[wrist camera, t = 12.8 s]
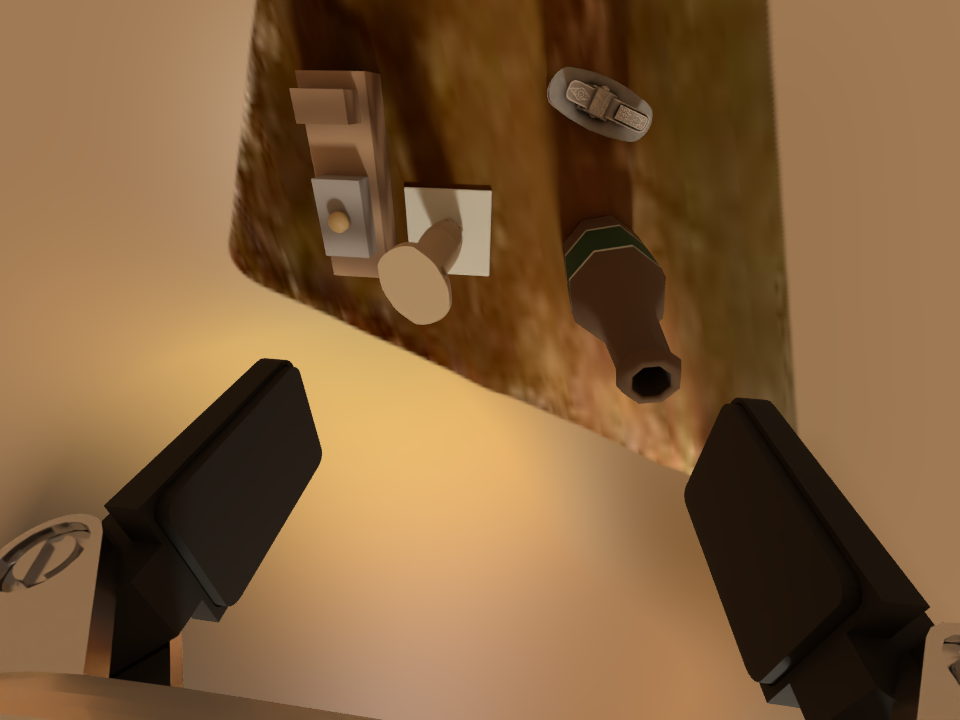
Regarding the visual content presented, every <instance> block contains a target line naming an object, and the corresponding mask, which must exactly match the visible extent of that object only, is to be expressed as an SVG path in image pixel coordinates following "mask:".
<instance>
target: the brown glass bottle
mask: <svg viewBox="0 0 960 720" xmlns="http://www.w3.org/2000/svg"><path fill="white" fill-rule="evenodd" d="M563 249H564V260H565V272H566V280H567V286H568V292H569V298H570V304H571V310H572V314H573V317H574V320H575V322H576V323H578V324H579V325H580V326H582V327H583V328H584V329H586V330H587V331H589V332H590V333H592V334H593V335H594V336H596V337H597V338H599V339H600V340H602V341H603V342H604V343H605V344H606V346H607V349H608V351H609V353H610V356H611V358H612V360H613V363H614V365H615V368H616V386H617V387H618V388H619V389H620V390H621V391H622V392H623V393H624V394H625V395H627V396H628V397H630V398H631V399H633V400H634V401H636V402H637V403H639V404H642V403H656V402H663V401H664V400H665V399H667V398H668V397H669V396H671V395H672V394H673V393H674V392H676V391H677V390H678V389H680V379H681V359H679V358H678V357H677V356H675V355H674V354H673V353H671V351H670V349H669V346H668V344H667V341H666V339H665V336H664V334H663V331H662V329H661V326H660V323H659V321H660V320H661V319H662V317H663V313H664V298H665V278H666V277H665V275H664V273H663V271H662V269H661V267H660V266H659V264H658V263H657V262H656V260H655V259H654V258H653V256H652V255H651V254H650V252H649V251H648V249H647V248H646V247H645V245H644V244H643V243H642V241H641V240H640V239H639V237H638V236H637V235H636V234H635V233H634V232H633V231H631V230H630V229H629V228H628V227H626V226H625V225H624V224H623V223H621V222H620V221H619V220H618V219H616V218H615V217H614V216H612V215H609V216H603V217H597V218H591V219H585V220H582V221H581V222H580V223H579V224H578V226H577V227H576V228H575V229H574V231H573V232H572V233H571V234H570V236H569V237H568V238H567V239H566V240H565V242H564V243H563Z"/></svg>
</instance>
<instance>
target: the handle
mask: <svg viewBox="0 0 960 720" xmlns="http://www.w3.org/2000/svg"><path fill="white" fill-rule="evenodd" d="M462 232H463V228H462V226H461V225H460V224H457V223H455V222H453V221H452V220H451V218H445V219H444V220H443V221H440V222H437V223H435V224H433V225H432V226H431V227H429V228H428V229H427V230H426V231H425V232H424V234H423V235H422V236H421V238H420V240H419V241H418V243H415V242H405V243H401V244H398V245H396V246H394V247H393V248H391V249H390V250H389V251H387V252H386V253H385V254H384V255H383V256H382V258H381V259H380V261H379V263H378V265H377V266H378V272H379V278H380V283H381V286H382V289H383V291H384V293H385V294H386V296H387V297H388V299H389V300H390V302H391V303H392V305H393V306H394V307H395V309H396V310H397V311H398V312H399V313H401V314H402V315H403V316H405V317H406V318H408V319H409V320H410V321H412V322H413V323H415V324H423V325H425V324H431V323H434V322H436V321H438V320H440V319H442V318H443V317H444V316H445V315H446V314H447V313H448V311H449V309H450V307H451V304H452V294H451V285H450V280H449V277H448V274H447V273H448V272H449V271H450V269H451V268H452V267H453V265H454V264H455V262H456V261H457V259H458V257H459V254H460V252H461V248H462V241H463V238H462Z"/></svg>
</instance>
